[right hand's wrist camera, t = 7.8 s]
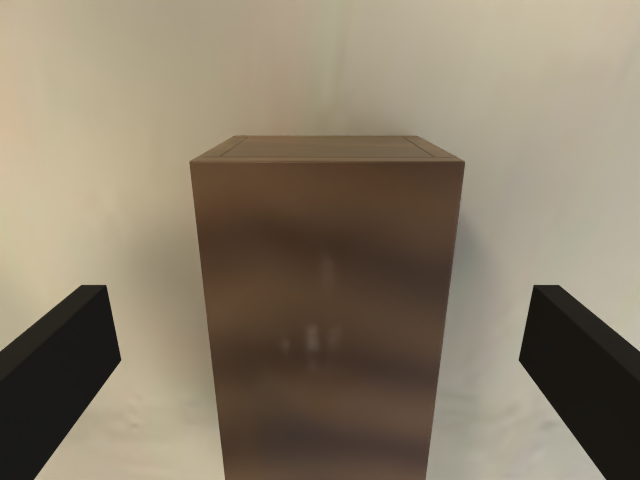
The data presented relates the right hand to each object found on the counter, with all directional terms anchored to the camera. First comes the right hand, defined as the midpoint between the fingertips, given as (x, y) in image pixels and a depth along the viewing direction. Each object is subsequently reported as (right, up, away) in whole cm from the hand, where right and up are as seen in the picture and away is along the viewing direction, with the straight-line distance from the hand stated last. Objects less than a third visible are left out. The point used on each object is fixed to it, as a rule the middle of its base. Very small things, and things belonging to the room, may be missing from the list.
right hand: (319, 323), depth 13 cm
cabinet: (0, 0, +14) cm, 14 cm away
